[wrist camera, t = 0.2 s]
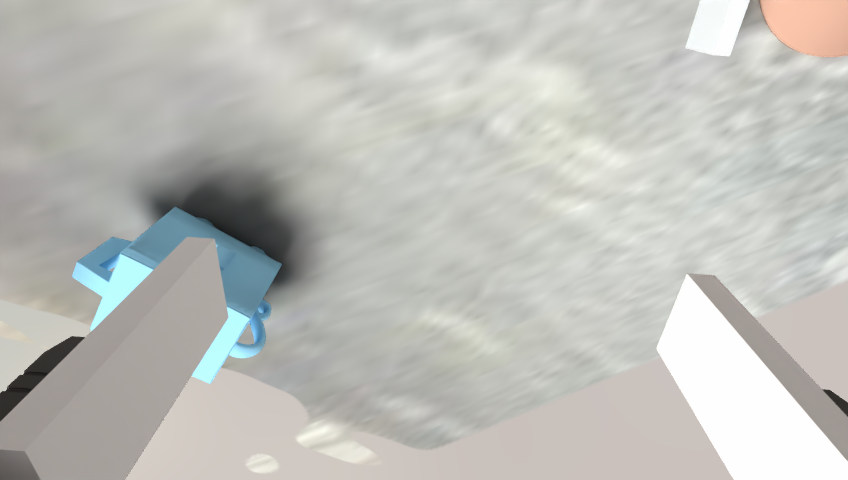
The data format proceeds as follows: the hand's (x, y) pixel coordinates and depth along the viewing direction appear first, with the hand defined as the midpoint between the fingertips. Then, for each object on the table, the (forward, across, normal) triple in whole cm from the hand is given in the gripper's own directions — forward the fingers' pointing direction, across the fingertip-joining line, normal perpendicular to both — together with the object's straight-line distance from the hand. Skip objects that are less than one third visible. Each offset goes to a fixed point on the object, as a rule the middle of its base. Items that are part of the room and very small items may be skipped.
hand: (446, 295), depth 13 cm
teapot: (+28, -22, -18) cm, 40 cm away
